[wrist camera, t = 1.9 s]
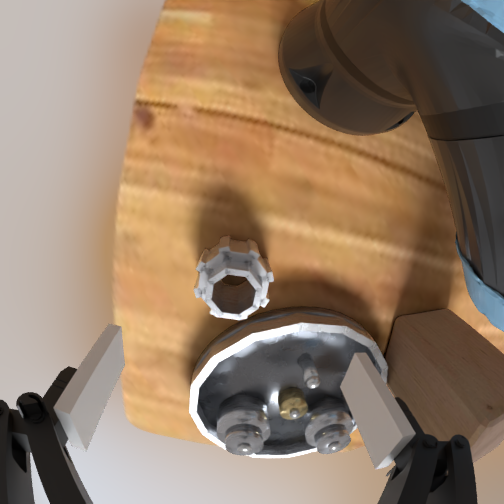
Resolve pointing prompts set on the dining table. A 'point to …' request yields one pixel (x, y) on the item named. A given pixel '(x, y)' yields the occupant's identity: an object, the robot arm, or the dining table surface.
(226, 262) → the gear
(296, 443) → the carrier
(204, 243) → the dining table surface
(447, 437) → the wooden block
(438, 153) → the robot arm
